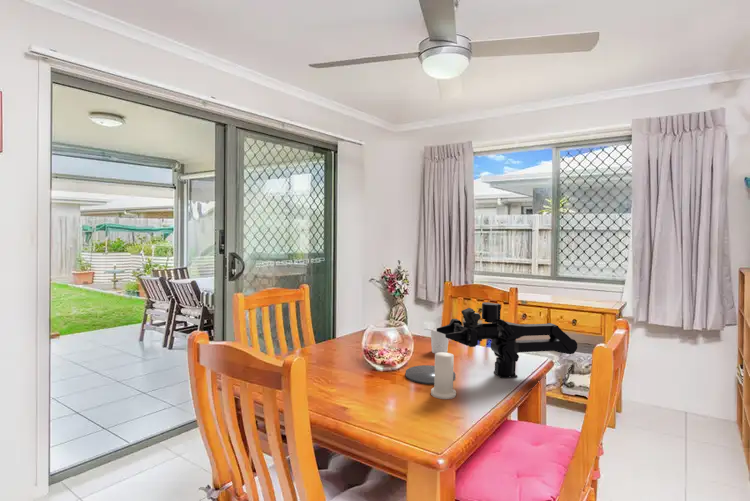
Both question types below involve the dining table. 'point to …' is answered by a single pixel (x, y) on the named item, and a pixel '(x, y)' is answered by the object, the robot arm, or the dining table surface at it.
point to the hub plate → (423, 374)
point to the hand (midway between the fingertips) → (441, 332)
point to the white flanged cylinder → (443, 376)
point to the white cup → (438, 341)
